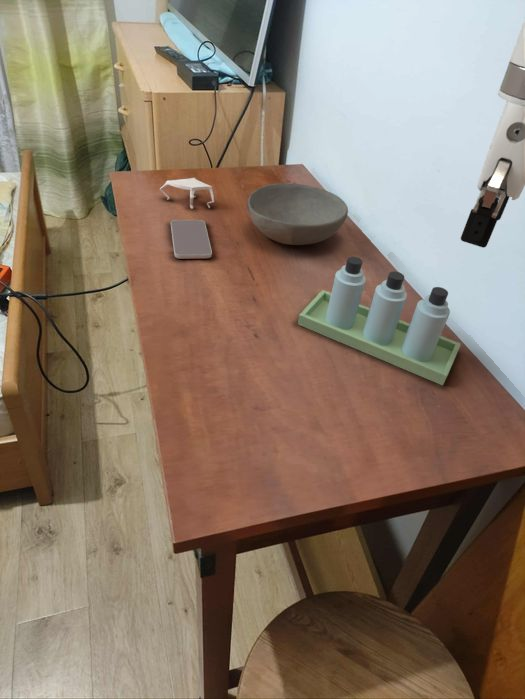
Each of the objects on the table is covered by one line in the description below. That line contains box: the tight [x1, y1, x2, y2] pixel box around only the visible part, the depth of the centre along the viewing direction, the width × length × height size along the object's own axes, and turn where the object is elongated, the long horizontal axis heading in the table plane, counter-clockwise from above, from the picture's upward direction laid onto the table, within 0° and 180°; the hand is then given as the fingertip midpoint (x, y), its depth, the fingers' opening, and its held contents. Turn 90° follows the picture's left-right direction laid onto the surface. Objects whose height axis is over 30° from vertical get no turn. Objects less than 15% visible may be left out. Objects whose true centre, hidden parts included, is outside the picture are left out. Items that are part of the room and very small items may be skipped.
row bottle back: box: [326, 256, 367, 329], centre depth 85 cm, size 5×5×12 cm
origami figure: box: [159, 177, 215, 210], centre depth 117 cm, size 12×8×5 cm
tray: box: [297, 289, 462, 387], centre depth 86 cm, size 26×10×2 cm, turn 60°
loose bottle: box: [401, 286, 451, 362], centre depth 80 cm, size 5×5×12 cm
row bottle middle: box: [363, 270, 408, 345], centre depth 83 cm, size 5×5×12 cm
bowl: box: [247, 182, 349, 246], centre depth 109 cm, size 21×21×8 cm
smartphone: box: [170, 219, 213, 260], centre depth 105 cm, size 7×1×15 cm
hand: (480, 229), depth 67 cm, fingers open, 9 cm apart
